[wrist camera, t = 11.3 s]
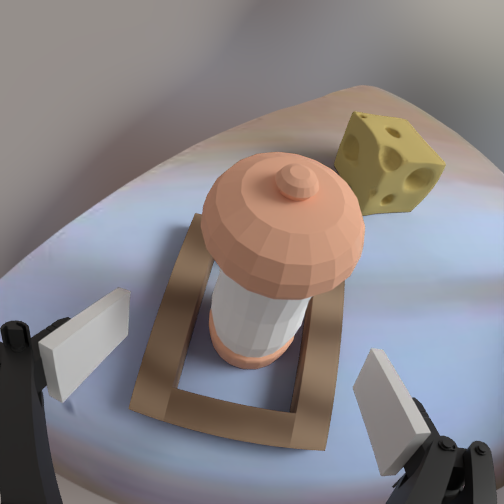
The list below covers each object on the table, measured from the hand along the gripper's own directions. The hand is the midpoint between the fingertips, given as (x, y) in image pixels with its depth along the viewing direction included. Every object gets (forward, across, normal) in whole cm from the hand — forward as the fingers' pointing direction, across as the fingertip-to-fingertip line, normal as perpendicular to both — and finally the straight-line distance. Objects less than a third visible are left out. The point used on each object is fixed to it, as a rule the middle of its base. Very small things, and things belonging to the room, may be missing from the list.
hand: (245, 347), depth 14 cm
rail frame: (+11, 0, -5) cm, 12 cm away
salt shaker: (+11, 0, -5) cm, 12 cm away
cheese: (+28, +13, +12) cm, 34 cm away
